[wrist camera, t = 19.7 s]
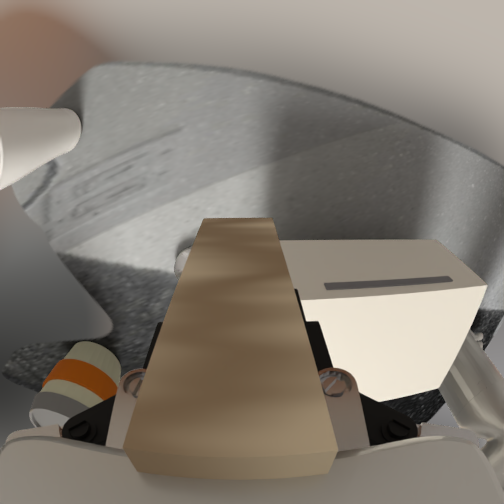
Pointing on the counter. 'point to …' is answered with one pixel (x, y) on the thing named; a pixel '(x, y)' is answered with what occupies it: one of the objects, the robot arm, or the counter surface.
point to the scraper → (232, 368)
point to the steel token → (181, 261)
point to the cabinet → (386, 308)
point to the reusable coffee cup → (76, 384)
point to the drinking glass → (34, 139)
